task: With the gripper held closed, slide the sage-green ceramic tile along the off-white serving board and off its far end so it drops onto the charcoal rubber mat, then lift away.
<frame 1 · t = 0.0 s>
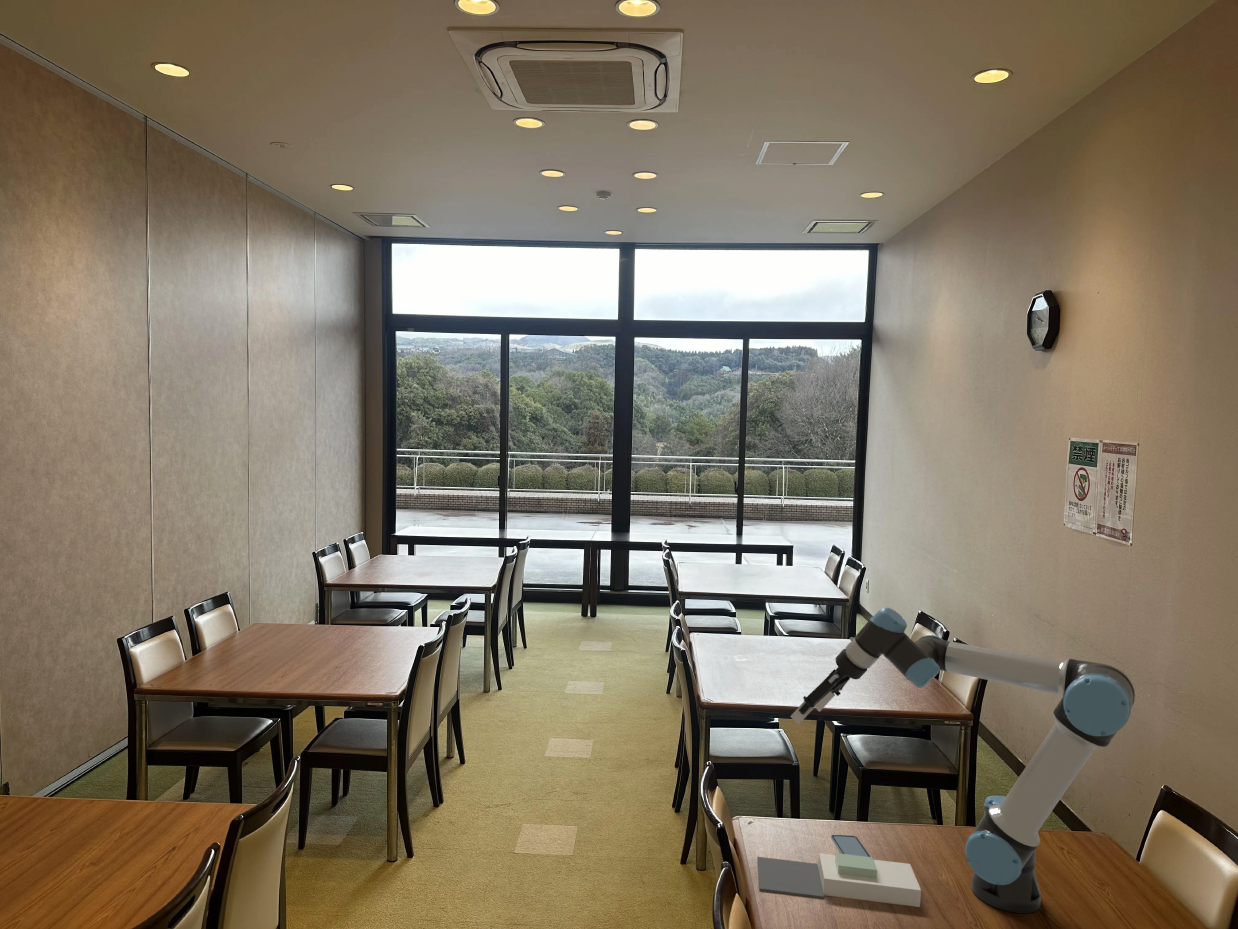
hand: (805, 713, 213), 36 cm above the table, tool tilted 35°, fingers open, 13 cm apart
board: (867, 887, 197), on the table
smartphone: (851, 852, 215), on the table
mat: (789, 877, 200), on the table
tile: (855, 869, 198), point 4 cm above the table, touching board
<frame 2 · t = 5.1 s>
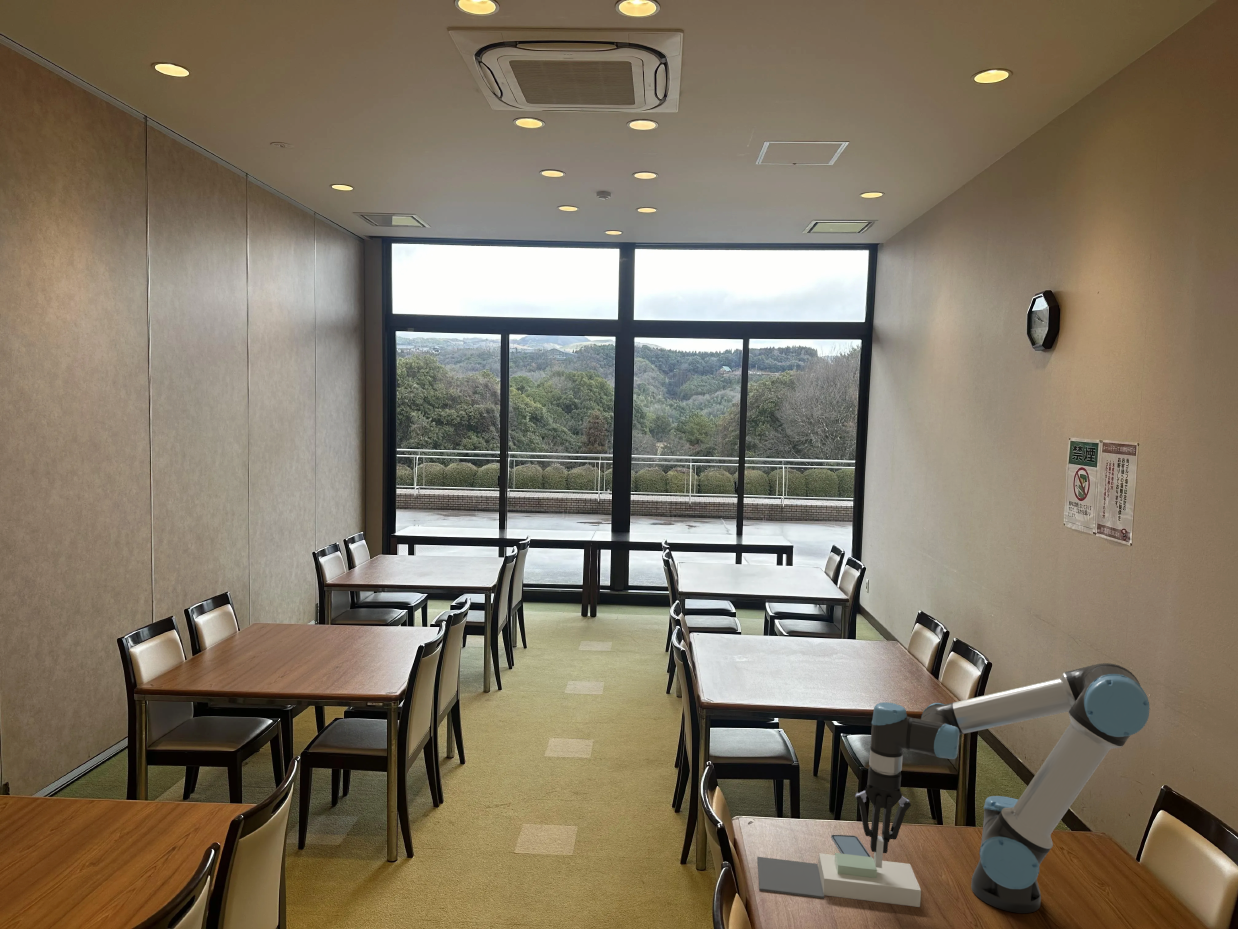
hand: (877, 864, 197), 6 cm above the table, tool pointing down, fingers closed
tile: (855, 869, 198), point 4 cm above the table, touching gripper
everything else where it was.
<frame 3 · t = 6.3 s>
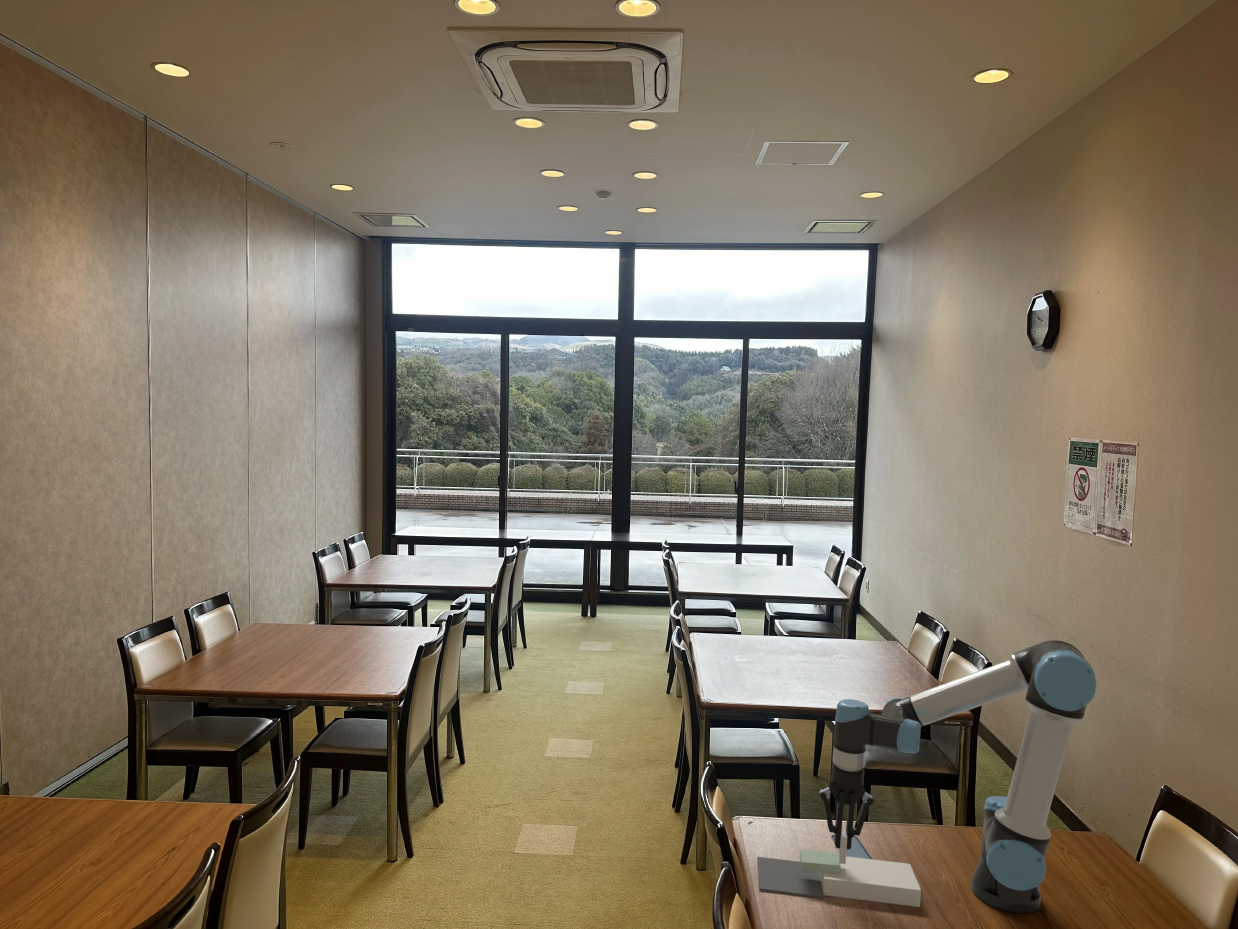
hand: (841, 860, 198), 6 cm above the table, tool pointing down, fingers closed
tile: (819, 865, 199), point 4 cm above the table, touching gripper
everything else where it was.
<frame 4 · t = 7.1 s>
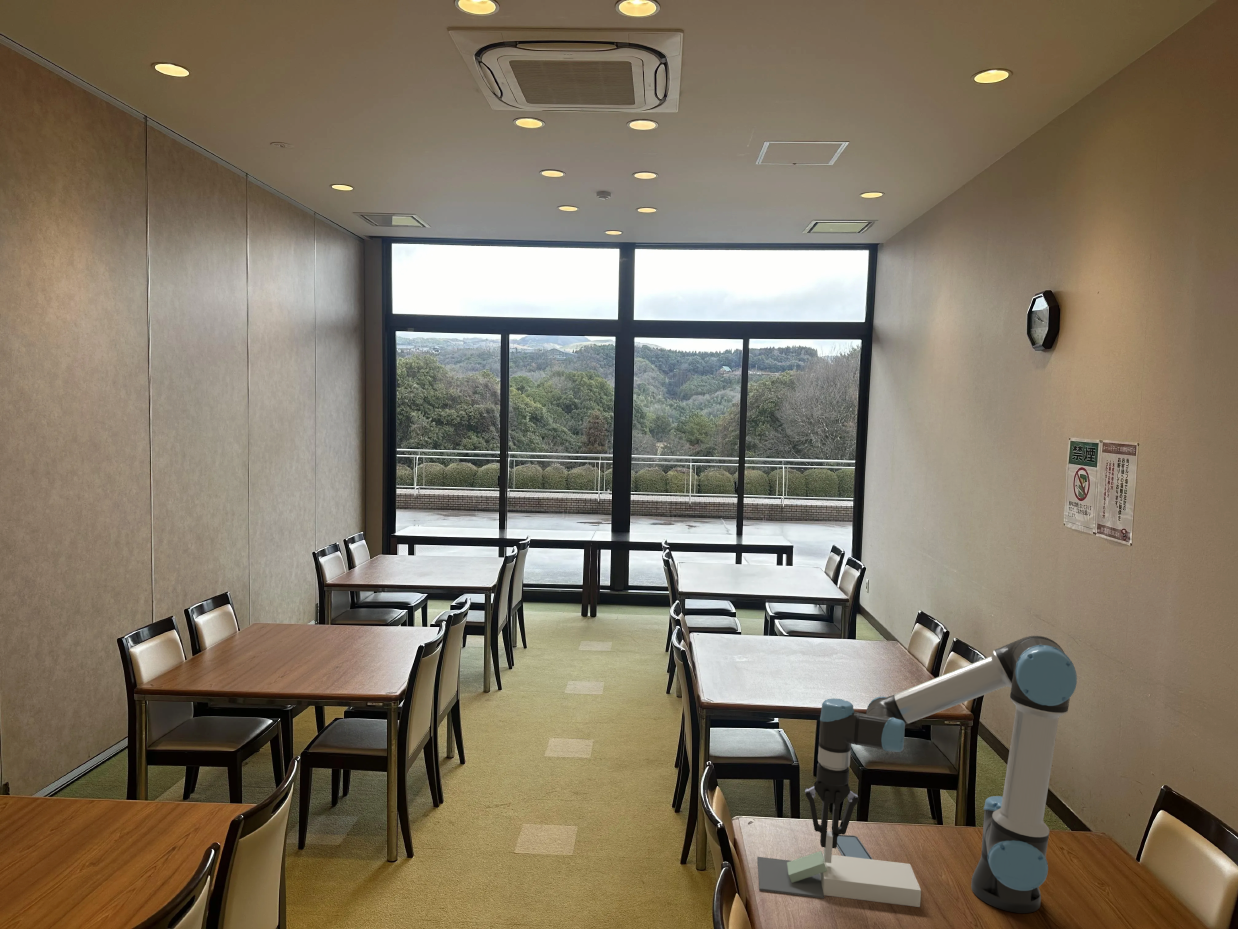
hand: (827, 860, 198), 6 cm above the table, tool pointing down, fingers closed
tile: (808, 870, 199), point 2 cm above the table, tilted 26°, touching gripper
everything else where it was.
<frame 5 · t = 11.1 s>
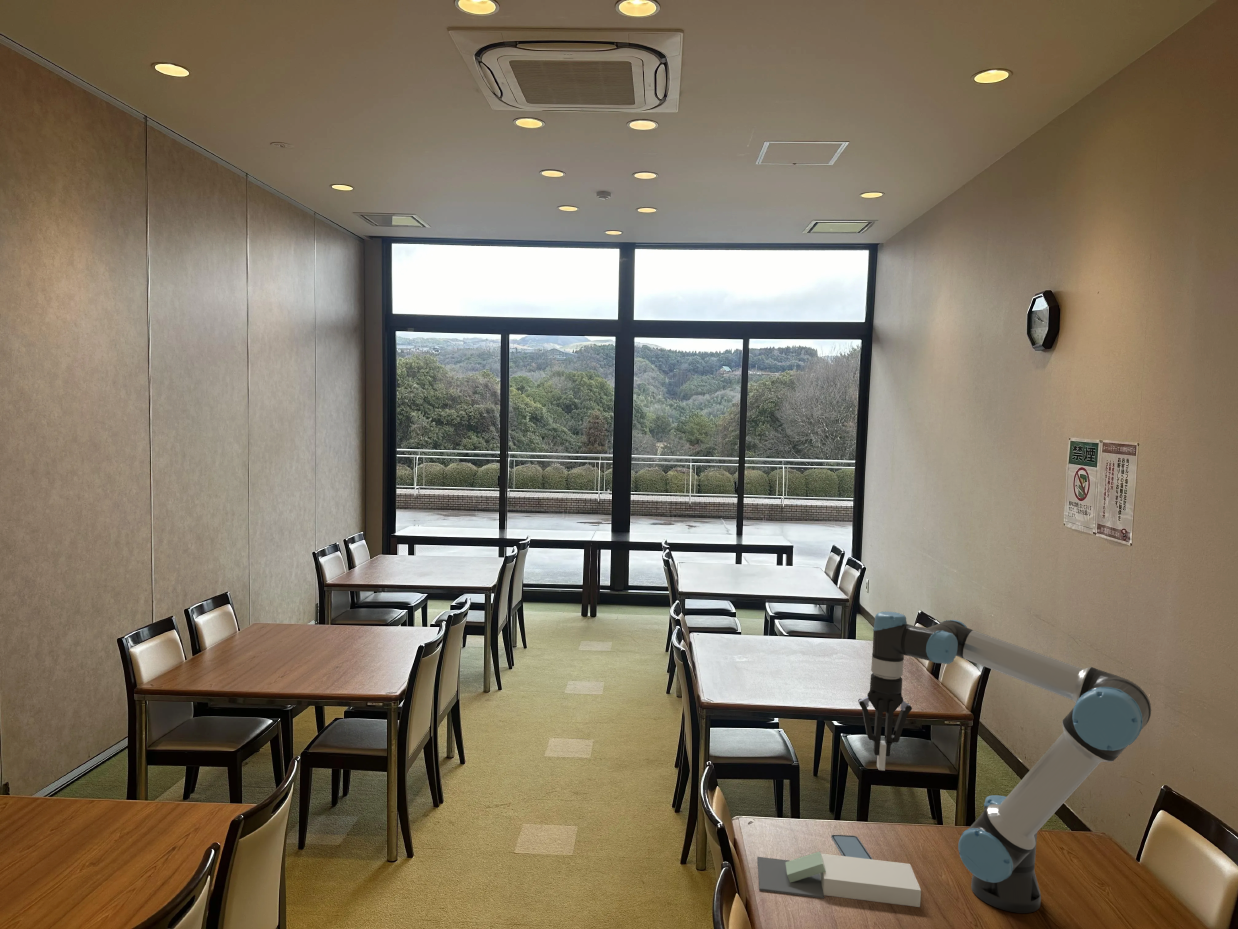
hand: (880, 768, 204), 26 cm above the table, tool pointing down, fingers closed
tile: (806, 870, 199), point 2 cm above the table, tilted 25°, touching board, mat
everything else where it was.
at the end: tile inside the target area (4.0 cm from its centre), point 2.4 cm above the table; tile point 2.4 cm above the table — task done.
